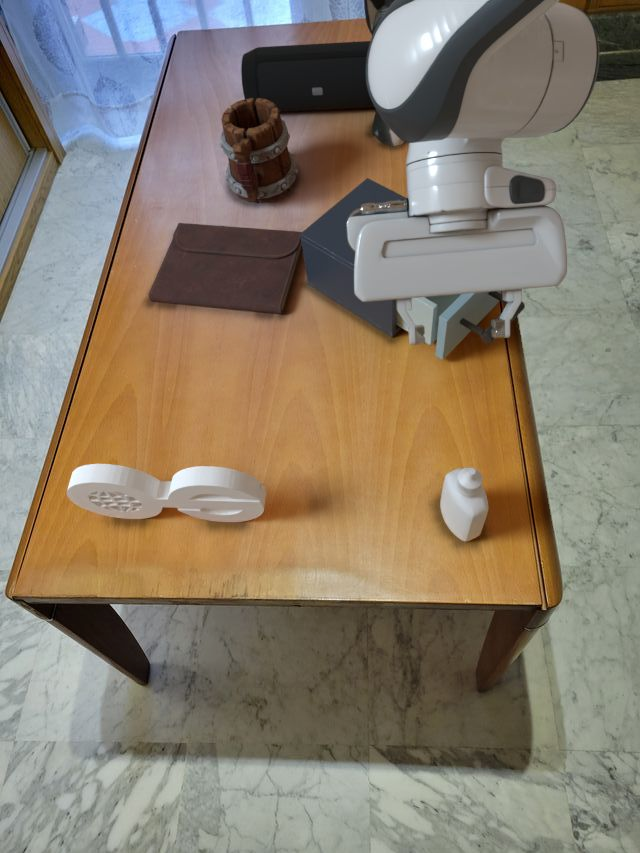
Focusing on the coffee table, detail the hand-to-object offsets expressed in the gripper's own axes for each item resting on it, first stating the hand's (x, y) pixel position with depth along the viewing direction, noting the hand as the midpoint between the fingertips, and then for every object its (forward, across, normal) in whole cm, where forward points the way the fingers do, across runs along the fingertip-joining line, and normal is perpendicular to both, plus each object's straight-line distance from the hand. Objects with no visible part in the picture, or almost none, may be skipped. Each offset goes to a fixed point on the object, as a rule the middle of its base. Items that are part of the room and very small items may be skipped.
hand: (458, 340), depth 63 cm
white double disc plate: (+18, -32, +5) cm, 38 cm away
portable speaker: (-36, -13, +60) cm, 71 cm away
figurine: (-29, -2, +53) cm, 60 cm away
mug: (-21, -24, +45) cm, 55 cm away
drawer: (-1, +1, +23) cm, 23 cm away
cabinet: (-6, -6, +29) cm, 30 cm away
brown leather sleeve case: (-9, -28, +32) cm, 44 cm away
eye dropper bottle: (+21, 0, +3) cm, 21 cm away
